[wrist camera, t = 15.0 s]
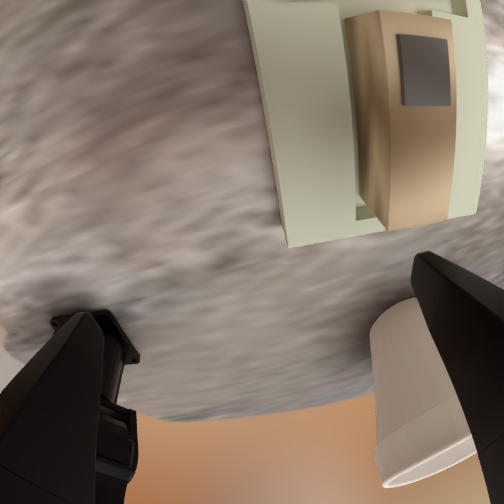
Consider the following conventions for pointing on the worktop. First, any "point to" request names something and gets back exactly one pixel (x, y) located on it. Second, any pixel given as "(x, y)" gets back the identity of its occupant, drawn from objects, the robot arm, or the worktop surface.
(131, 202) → the worktop surface
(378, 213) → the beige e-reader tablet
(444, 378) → the cup
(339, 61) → the jig
